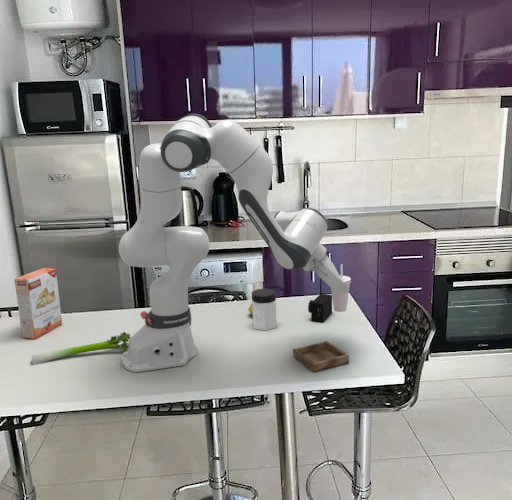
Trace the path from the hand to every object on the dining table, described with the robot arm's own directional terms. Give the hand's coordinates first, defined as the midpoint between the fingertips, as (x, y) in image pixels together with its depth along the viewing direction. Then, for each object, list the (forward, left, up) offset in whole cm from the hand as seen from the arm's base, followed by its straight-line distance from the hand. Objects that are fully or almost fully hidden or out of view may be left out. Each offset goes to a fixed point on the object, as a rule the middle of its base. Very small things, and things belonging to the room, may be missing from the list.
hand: (345, 286), depth 157 cm
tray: (-11, -4, -19) cm, 22 cm away
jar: (-13, +28, -19) cm, 37 cm away
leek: (-71, +35, -20) cm, 82 cm away
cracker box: (-81, +63, -20) cm, 105 cm away
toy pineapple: (-10, +39, -20) cm, 45 cm away
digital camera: (+7, +26, -20) cm, 33 cm away
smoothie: (-1, +1, -7) cm, 7 cm away
